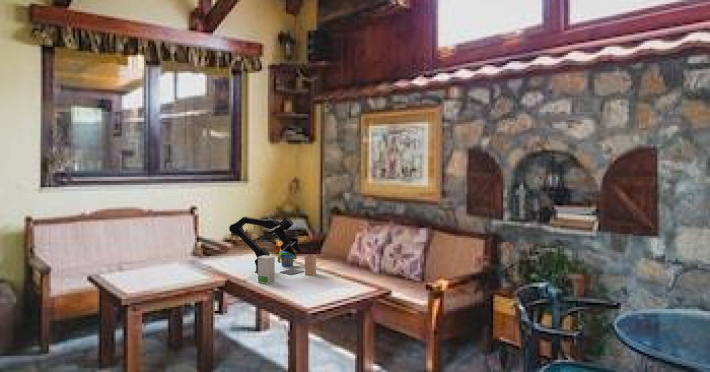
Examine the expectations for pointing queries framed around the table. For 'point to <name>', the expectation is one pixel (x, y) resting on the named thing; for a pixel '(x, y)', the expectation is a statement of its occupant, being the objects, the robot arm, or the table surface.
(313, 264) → the tan rectangular block
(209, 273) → the table surface
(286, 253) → the snack cup
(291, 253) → the robot arm
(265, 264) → the skincare box
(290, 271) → the slate coaster
